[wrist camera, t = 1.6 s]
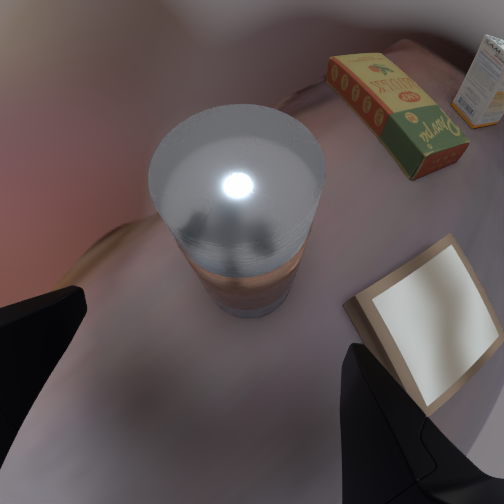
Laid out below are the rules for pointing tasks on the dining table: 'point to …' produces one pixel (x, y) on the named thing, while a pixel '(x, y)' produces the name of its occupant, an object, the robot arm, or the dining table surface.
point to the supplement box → (483, 86)
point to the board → (429, 323)
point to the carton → (397, 113)
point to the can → (240, 200)
